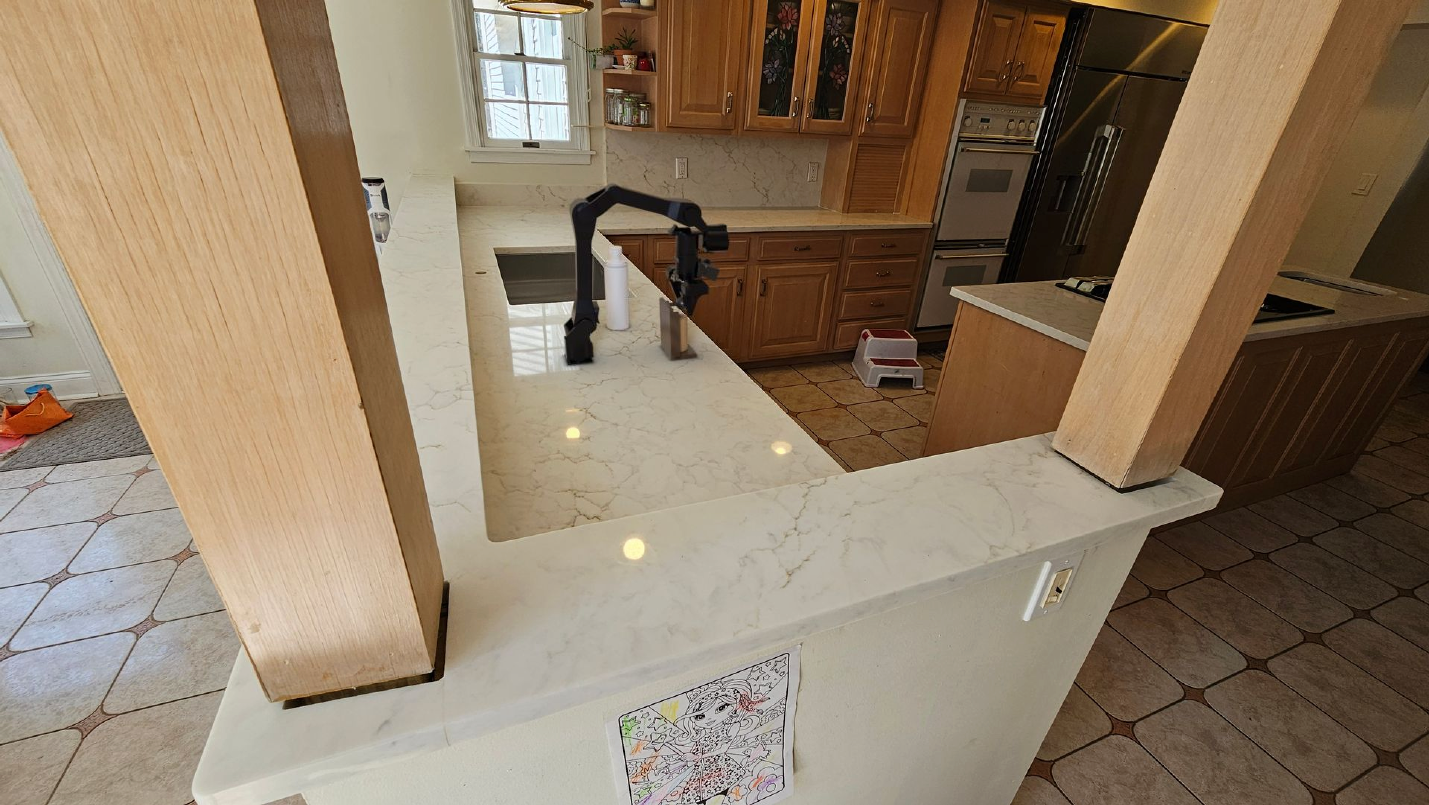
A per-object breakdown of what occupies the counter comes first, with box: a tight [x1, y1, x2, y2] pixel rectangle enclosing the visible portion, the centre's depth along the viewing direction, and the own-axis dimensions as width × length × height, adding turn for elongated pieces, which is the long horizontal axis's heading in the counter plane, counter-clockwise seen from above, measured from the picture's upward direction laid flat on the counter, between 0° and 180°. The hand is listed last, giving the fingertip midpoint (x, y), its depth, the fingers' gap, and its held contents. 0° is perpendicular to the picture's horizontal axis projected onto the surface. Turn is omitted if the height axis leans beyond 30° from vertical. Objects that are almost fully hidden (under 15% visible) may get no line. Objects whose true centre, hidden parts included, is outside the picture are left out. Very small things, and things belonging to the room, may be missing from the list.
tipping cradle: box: [658, 297, 697, 361], centre depth 161 cm, size 15×10×7 cm
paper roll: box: [679, 313, 689, 352], centre depth 162 cm, size 9×5×5 cm
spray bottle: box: [603, 245, 630, 331], centre depth 175 cm, size 7×7×25 cm
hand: (685, 311), depth 160 cm, fingers open, 7 cm apart
